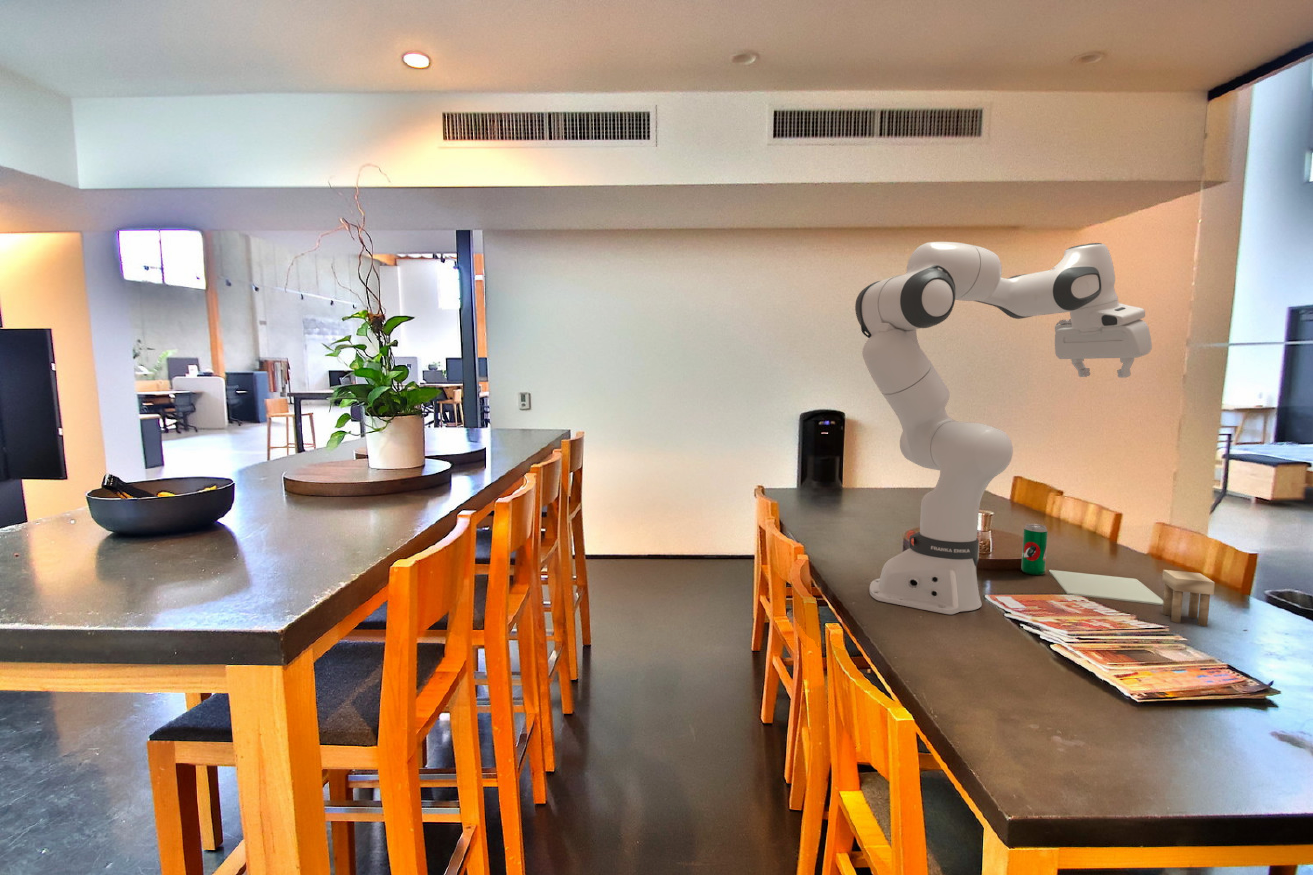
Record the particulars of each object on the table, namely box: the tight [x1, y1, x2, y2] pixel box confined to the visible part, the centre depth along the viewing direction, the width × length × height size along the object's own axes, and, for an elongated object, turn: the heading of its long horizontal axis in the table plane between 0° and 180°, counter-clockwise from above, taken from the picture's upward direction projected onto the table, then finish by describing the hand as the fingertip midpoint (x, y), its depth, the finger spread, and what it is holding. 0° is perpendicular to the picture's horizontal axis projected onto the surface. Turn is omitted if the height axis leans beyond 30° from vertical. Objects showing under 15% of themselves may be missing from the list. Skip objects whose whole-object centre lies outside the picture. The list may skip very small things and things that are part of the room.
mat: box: [1048, 569, 1164, 606], centre depth 138 cm, size 18×18×1 cm
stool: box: [1161, 569, 1216, 627], centre depth 119 cm, size 6×6×9 cm
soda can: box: [1020, 523, 1049, 576], centre depth 148 cm, size 5×5×12 cm
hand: (1103, 376), depth 134 cm, fingers open, 8 cm apart
